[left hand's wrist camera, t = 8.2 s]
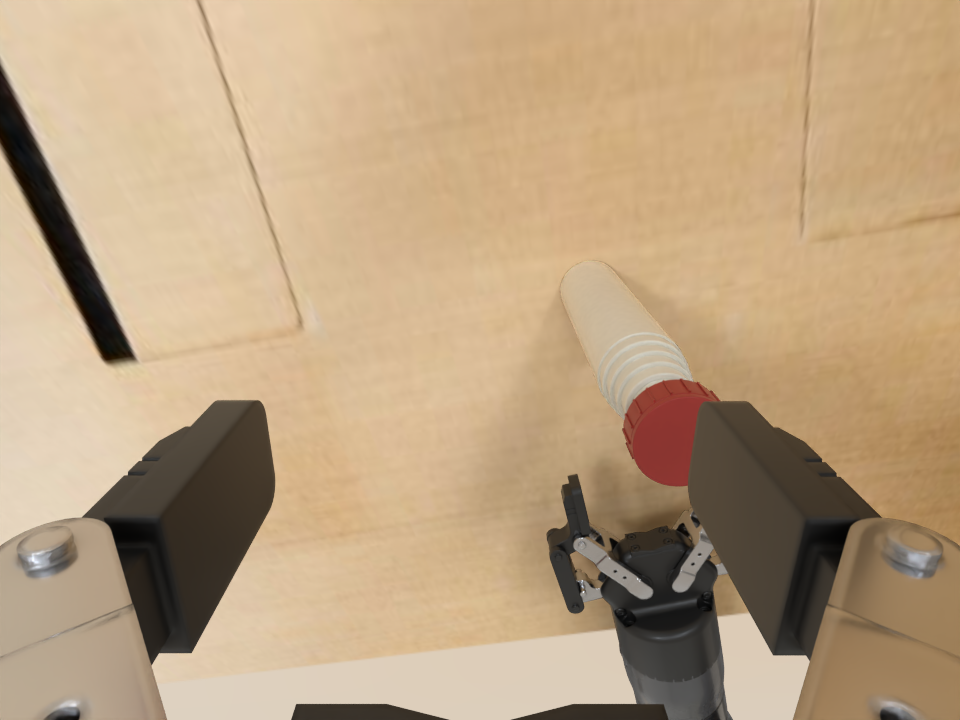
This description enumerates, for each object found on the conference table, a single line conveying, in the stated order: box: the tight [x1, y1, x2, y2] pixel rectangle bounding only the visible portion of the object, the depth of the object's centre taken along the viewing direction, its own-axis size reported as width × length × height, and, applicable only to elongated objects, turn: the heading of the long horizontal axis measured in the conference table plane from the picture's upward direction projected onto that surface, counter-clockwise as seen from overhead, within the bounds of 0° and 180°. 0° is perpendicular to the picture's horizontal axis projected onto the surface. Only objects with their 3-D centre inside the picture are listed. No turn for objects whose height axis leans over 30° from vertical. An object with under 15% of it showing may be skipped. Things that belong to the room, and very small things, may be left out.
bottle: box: [560, 260, 694, 420], centre depth 32 cm, size 4×4×21 cm
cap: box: [622, 378, 720, 486], centre depth 23 cm, size 4×4×2 cm
